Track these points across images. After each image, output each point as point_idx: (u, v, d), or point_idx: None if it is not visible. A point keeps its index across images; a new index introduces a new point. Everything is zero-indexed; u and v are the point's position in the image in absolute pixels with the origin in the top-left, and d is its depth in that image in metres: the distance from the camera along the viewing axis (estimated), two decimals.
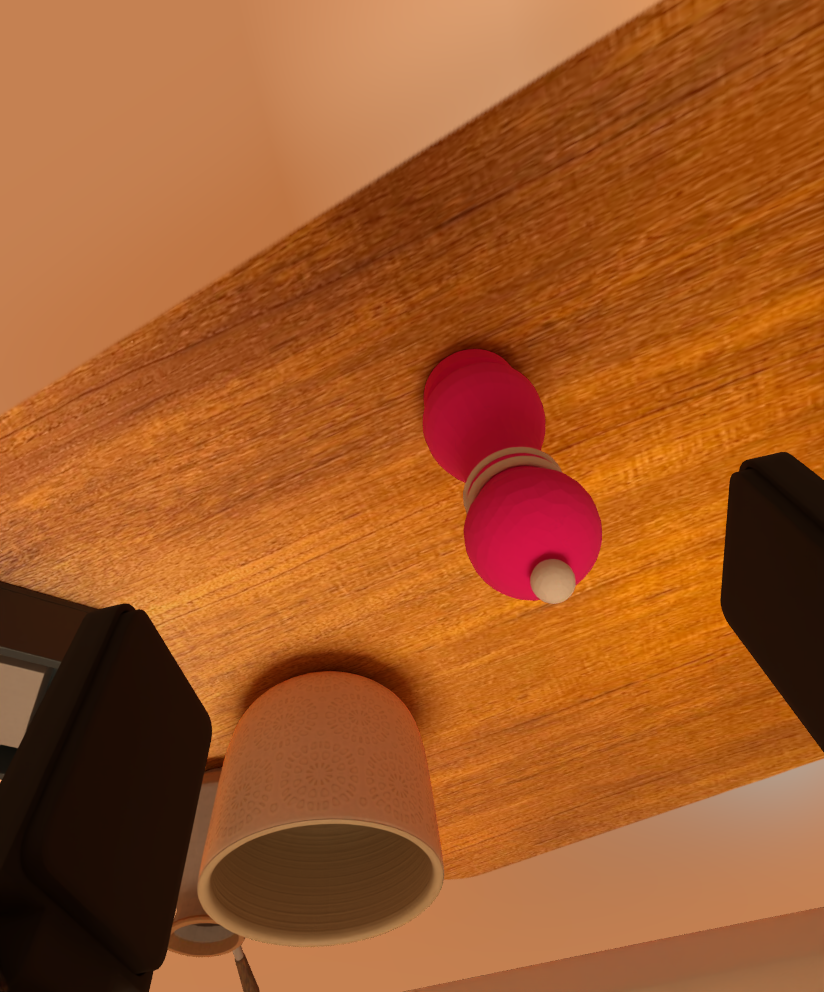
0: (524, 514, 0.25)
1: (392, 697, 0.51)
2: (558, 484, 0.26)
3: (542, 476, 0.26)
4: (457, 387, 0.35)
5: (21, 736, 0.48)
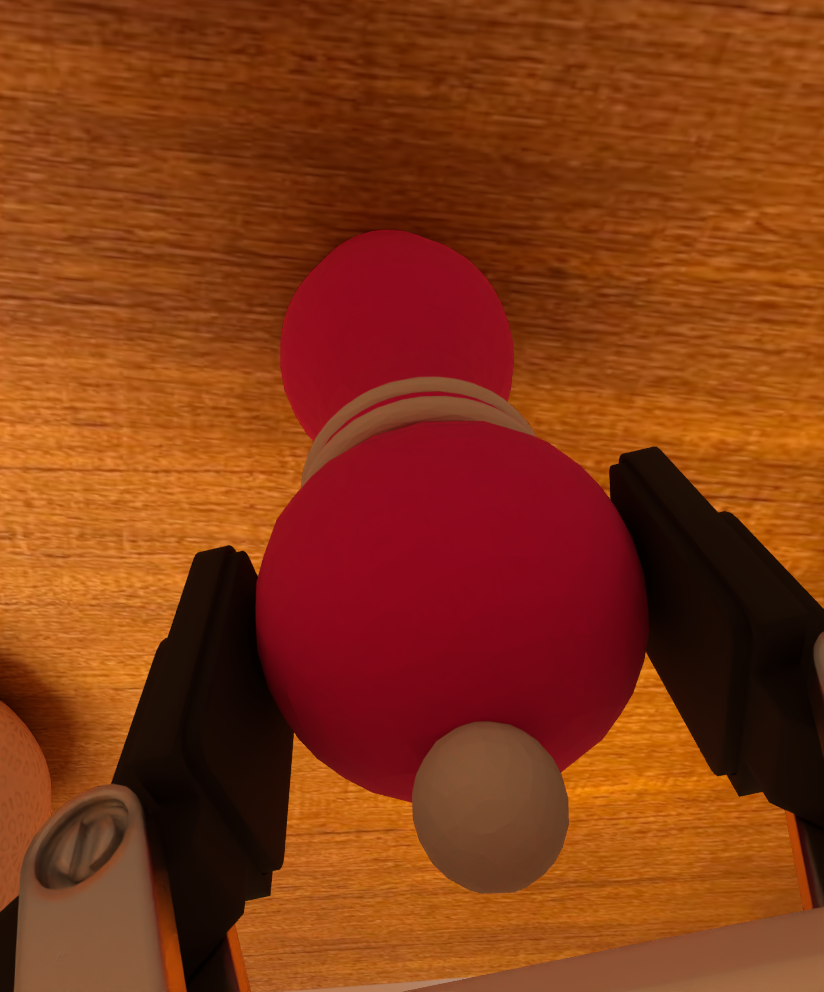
0: (498, 550, 0.07)
1: (24, 754, 0.29)
2: (605, 508, 0.08)
3: (569, 467, 0.09)
4: (391, 253, 0.17)
5: None
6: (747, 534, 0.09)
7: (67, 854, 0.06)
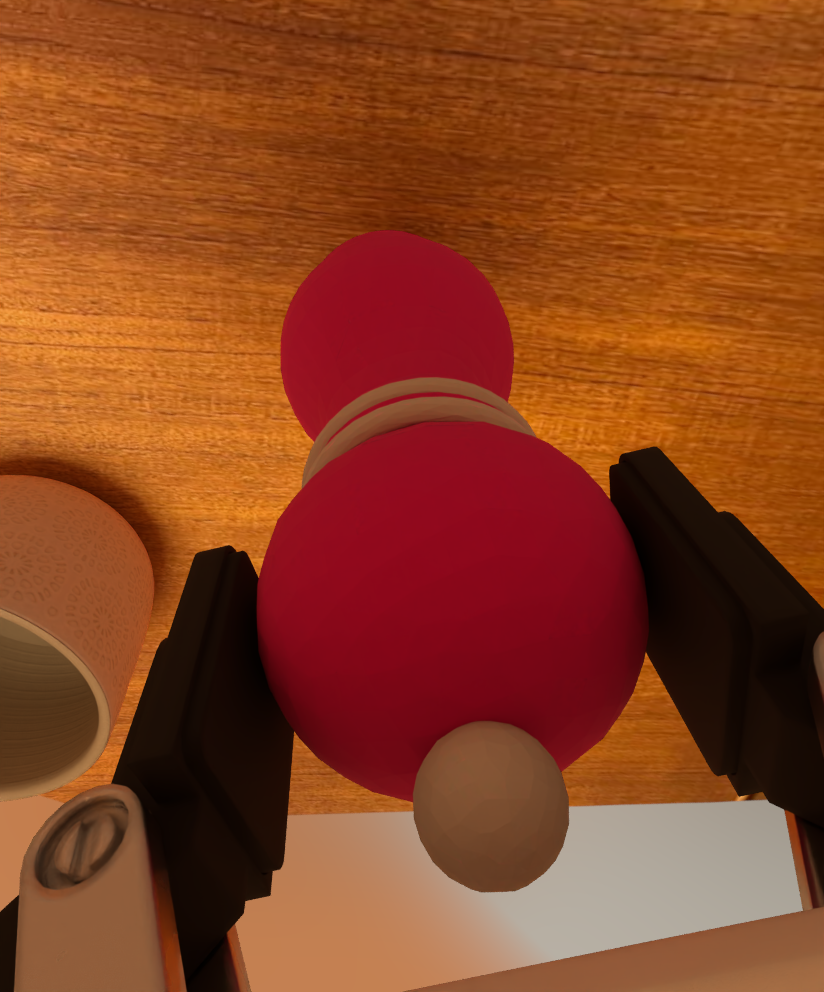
0: (498, 550, 0.07)
1: (142, 548, 0.43)
2: (605, 509, 0.08)
3: (569, 467, 0.09)
4: (391, 253, 0.17)
5: None
6: (747, 534, 0.09)
7: (67, 853, 0.06)
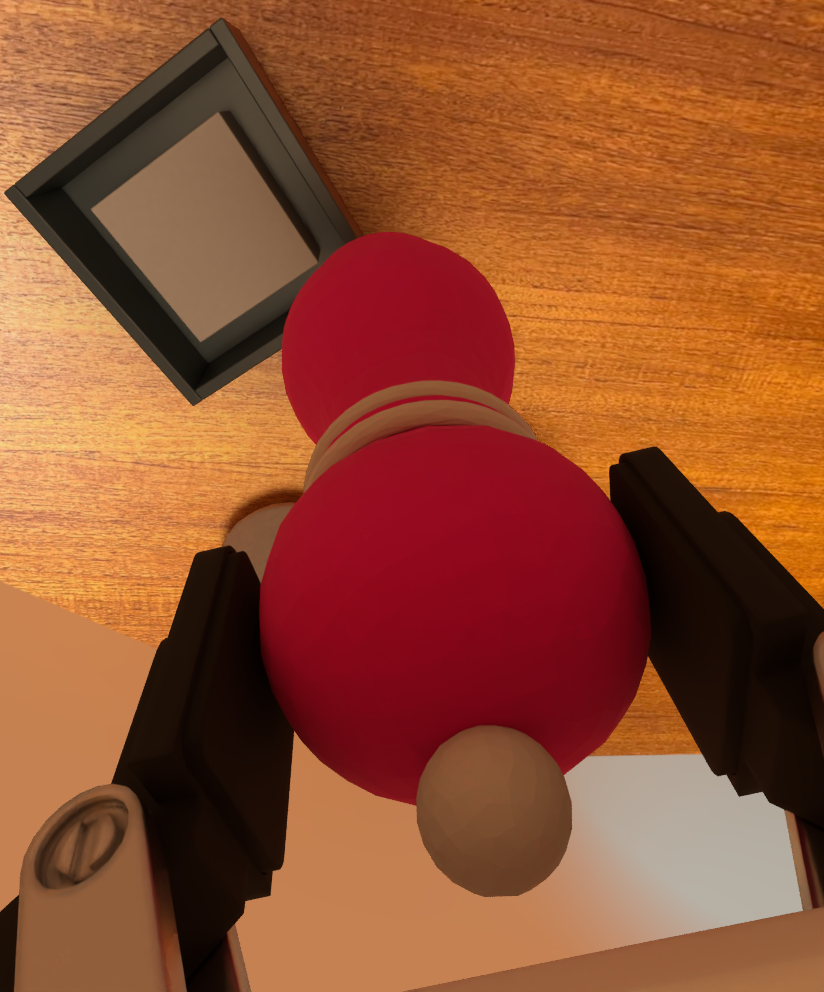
0: (501, 556, 0.07)
1: None
2: (608, 513, 0.08)
3: (572, 472, 0.09)
4: (393, 256, 0.17)
5: (218, 327, 0.39)
6: (747, 533, 0.09)
7: (67, 853, 0.06)
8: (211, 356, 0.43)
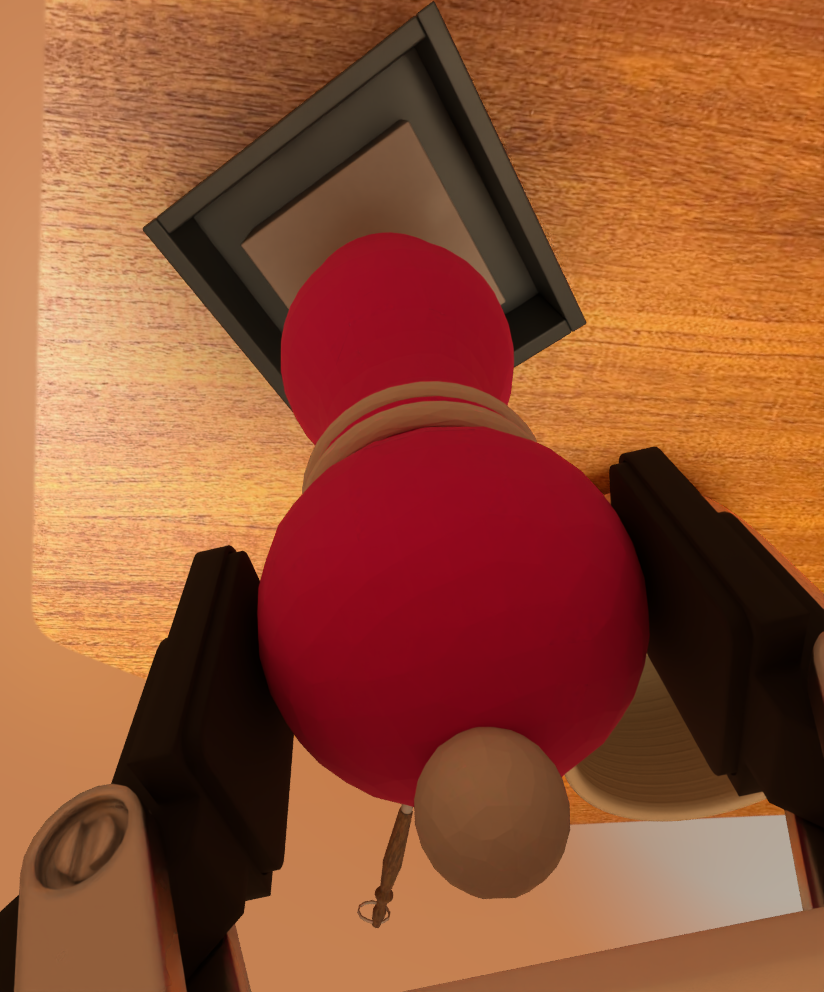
0: (499, 556, 0.07)
1: None
2: (606, 514, 0.08)
3: (570, 472, 0.09)
4: (392, 256, 0.17)
5: None
6: (747, 534, 0.09)
7: (67, 854, 0.06)
8: None
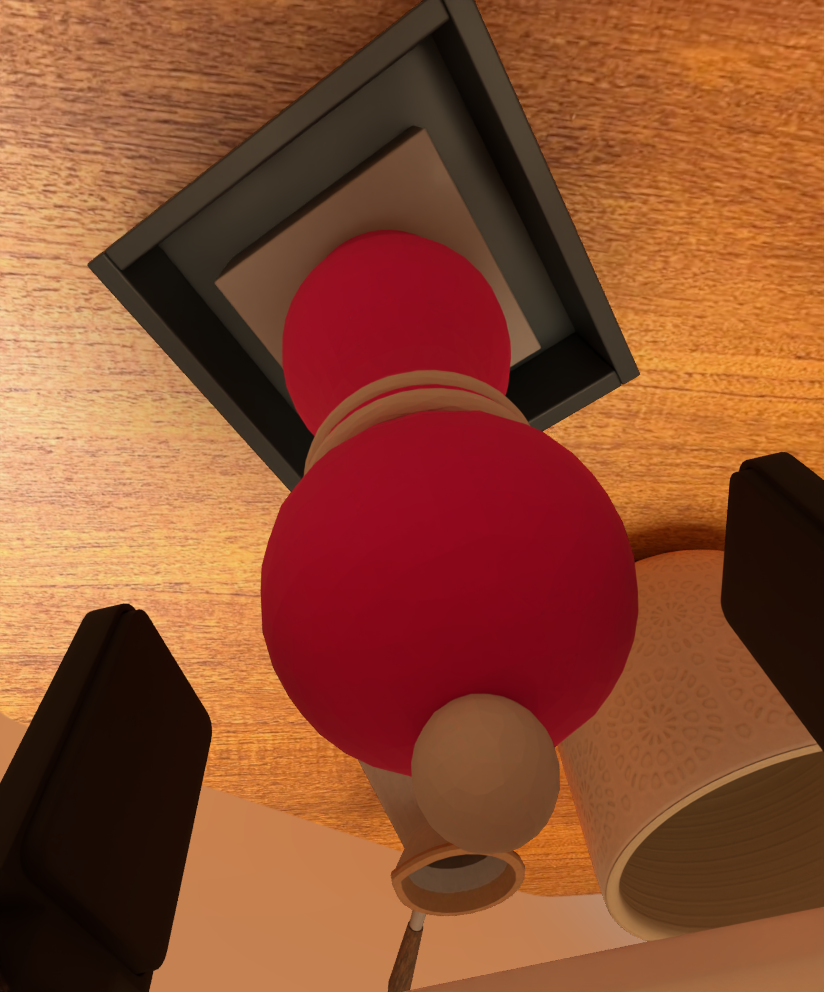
0: (492, 530, 0.08)
1: None
2: (596, 493, 0.09)
3: (561, 453, 0.09)
4: (391, 252, 0.17)
5: None
6: None
7: None
8: None
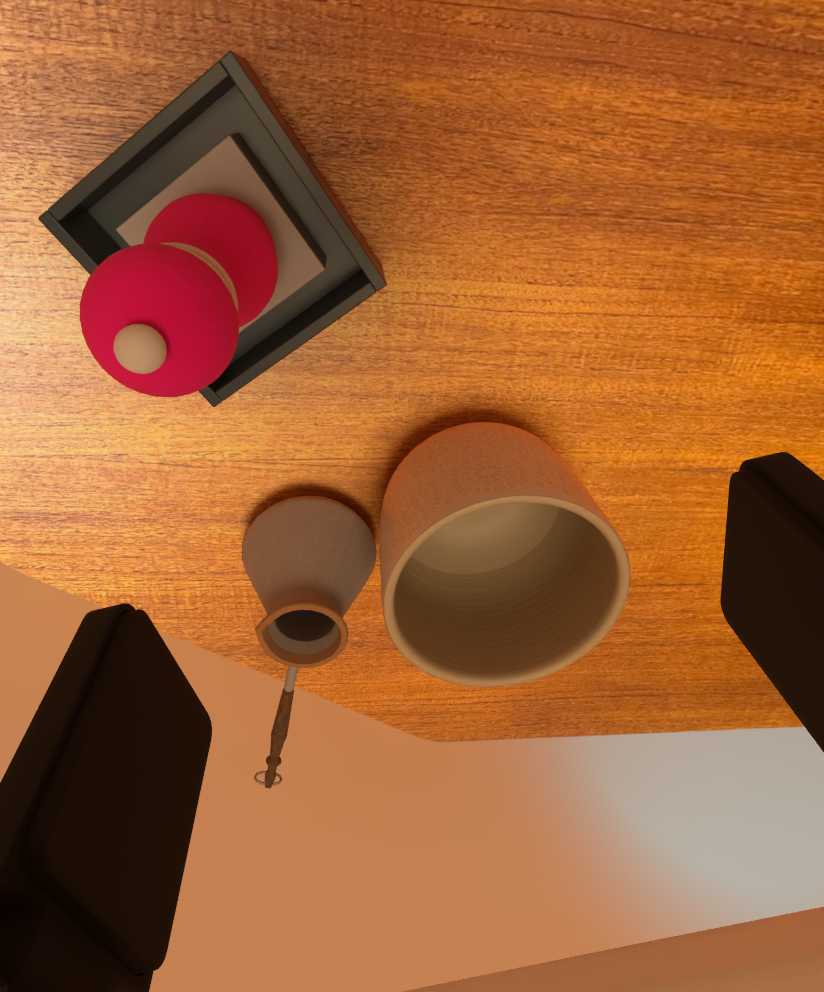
0: (143, 270, 0.23)
1: None
2: (199, 269, 0.24)
3: (188, 256, 0.24)
4: (192, 201, 0.32)
5: None
6: None
7: None
8: None
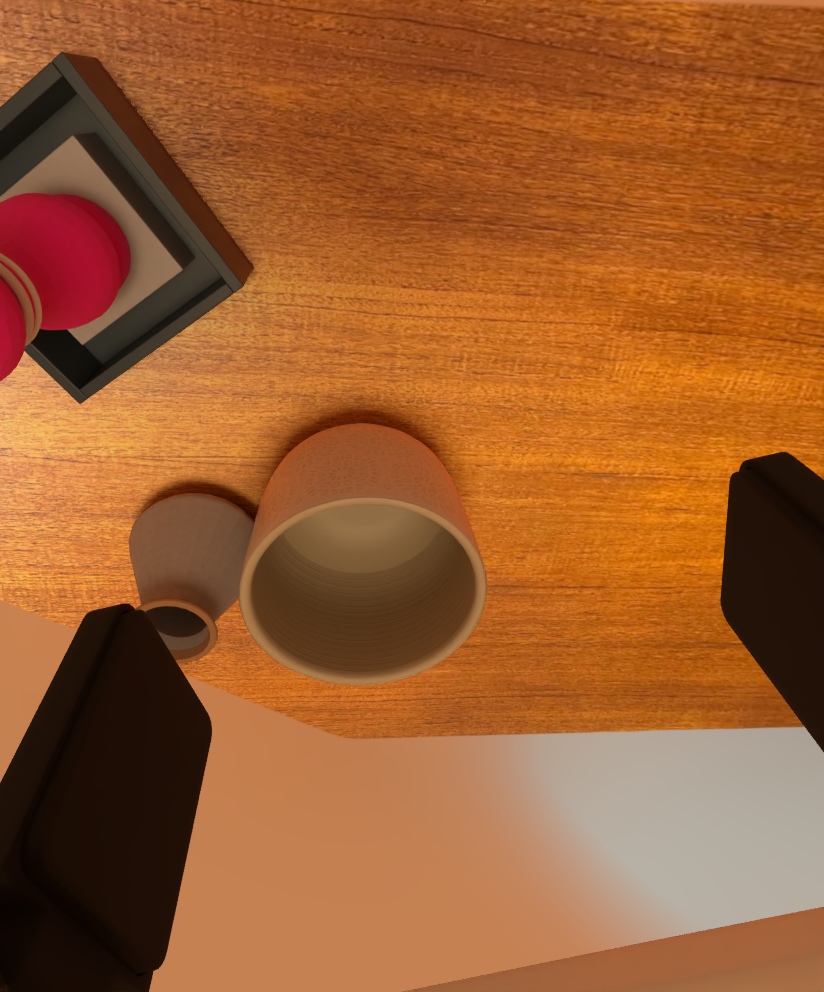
0: None
1: None
2: None
3: None
4: (18, 200, 0.33)
5: (96, 331, 0.42)
6: None
7: None
8: (105, 358, 0.47)
